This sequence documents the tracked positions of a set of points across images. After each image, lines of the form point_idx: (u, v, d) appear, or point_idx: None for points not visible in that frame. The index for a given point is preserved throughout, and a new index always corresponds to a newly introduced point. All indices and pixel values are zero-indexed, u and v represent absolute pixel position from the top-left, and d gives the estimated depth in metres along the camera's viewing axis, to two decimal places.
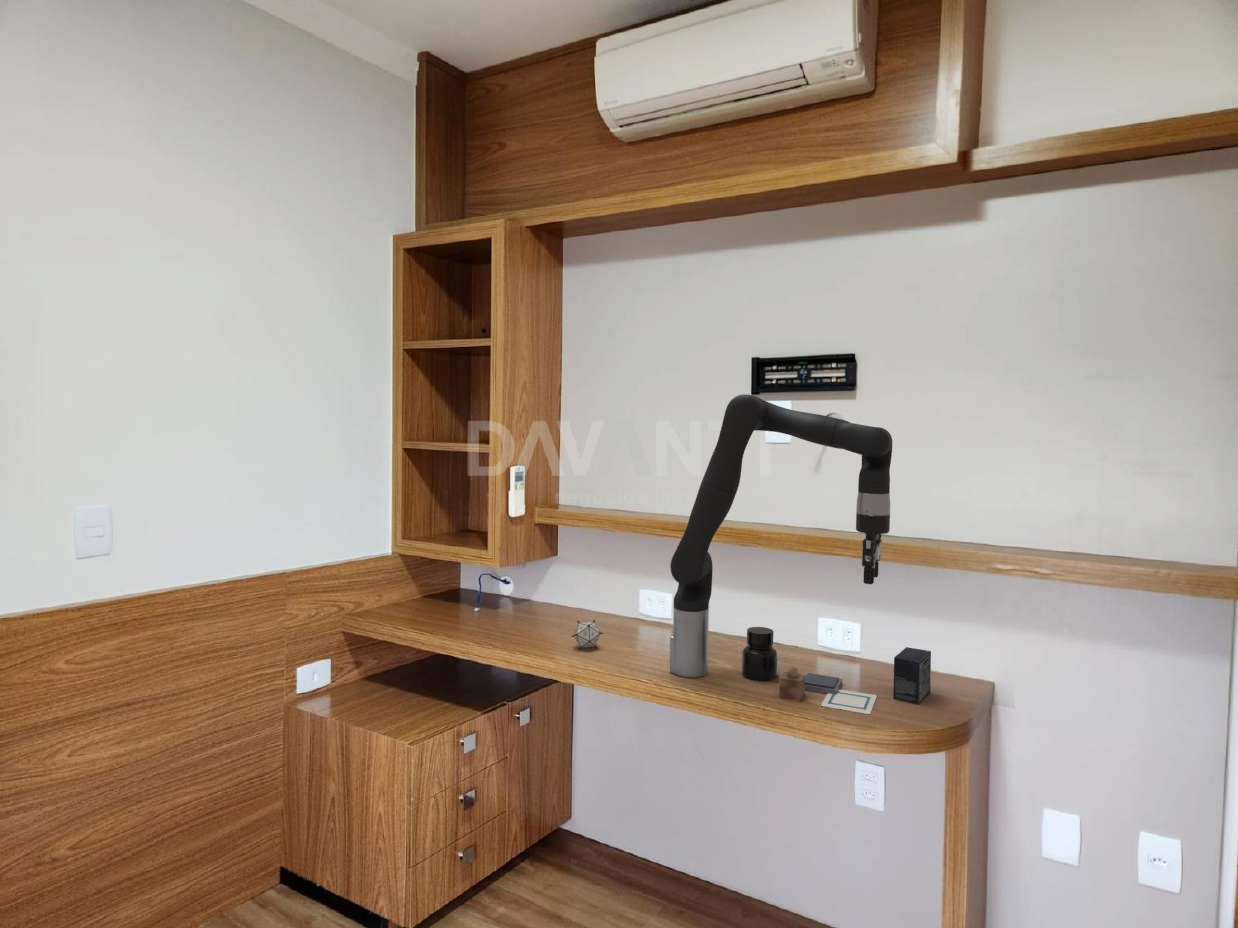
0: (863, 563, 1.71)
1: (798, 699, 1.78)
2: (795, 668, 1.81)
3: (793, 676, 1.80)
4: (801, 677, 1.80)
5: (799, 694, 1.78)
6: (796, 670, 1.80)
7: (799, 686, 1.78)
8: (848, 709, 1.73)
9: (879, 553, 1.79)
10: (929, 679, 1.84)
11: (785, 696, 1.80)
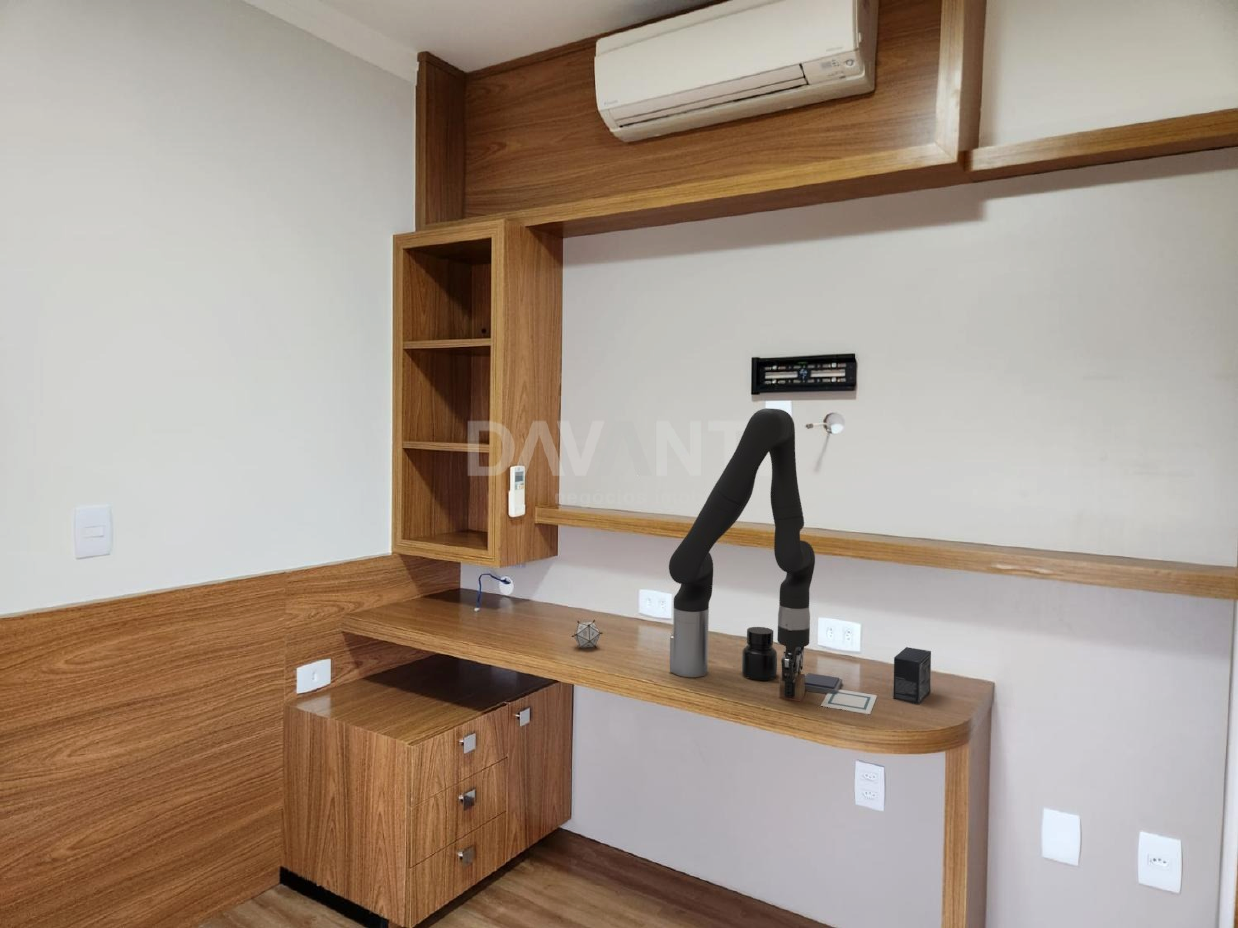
0: (783, 679, 1.77)
1: (798, 699, 1.78)
2: None
3: None
4: (801, 677, 1.80)
5: (799, 694, 1.78)
6: None
7: (799, 686, 1.78)
8: (848, 709, 1.73)
9: (800, 665, 1.82)
10: (929, 679, 1.84)
11: None
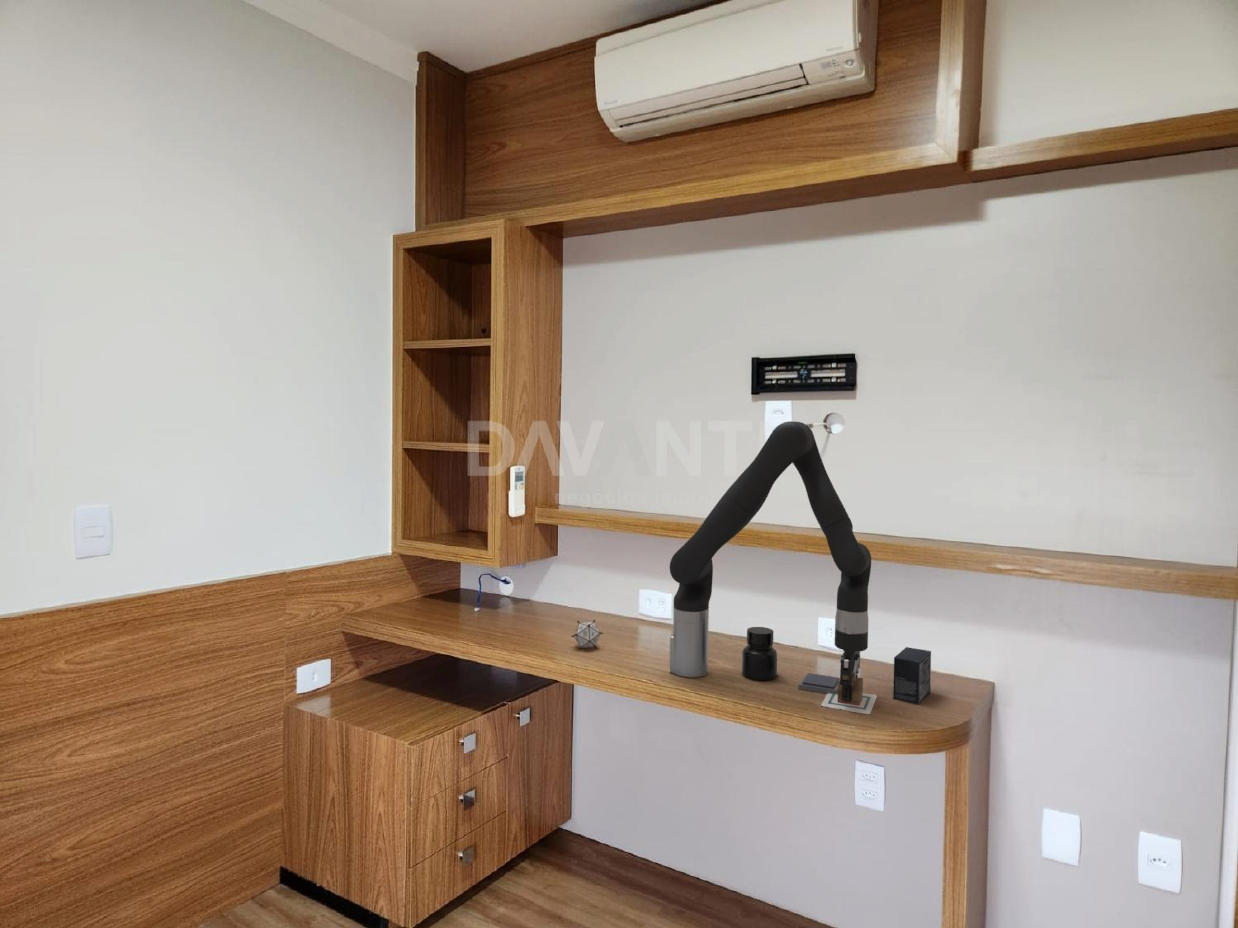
0: (841, 682, 1.72)
1: (857, 703, 1.75)
2: None
3: None
4: (860, 681, 1.77)
5: (858, 698, 1.75)
6: None
7: (858, 690, 1.75)
8: (848, 709, 1.73)
9: (858, 667, 1.80)
10: (929, 679, 1.84)
11: None
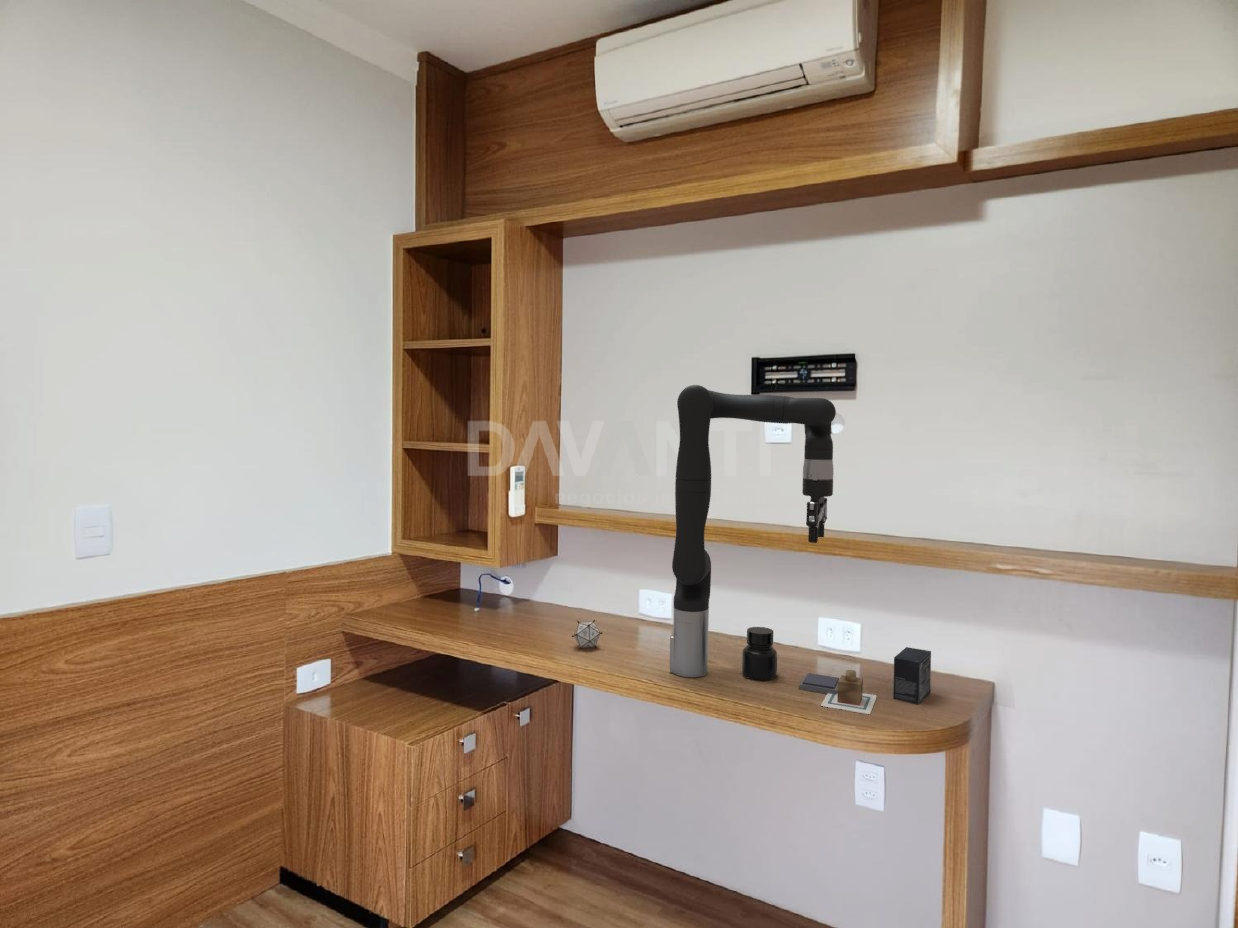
0: (807, 523, 1.86)
1: (857, 703, 1.75)
2: (853, 671, 1.78)
3: (852, 680, 1.77)
4: (860, 681, 1.77)
5: (858, 698, 1.75)
6: (855, 673, 1.77)
7: (858, 690, 1.75)
8: (848, 709, 1.73)
9: (824, 515, 1.94)
10: (929, 679, 1.84)
11: (844, 700, 1.77)
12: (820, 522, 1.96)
